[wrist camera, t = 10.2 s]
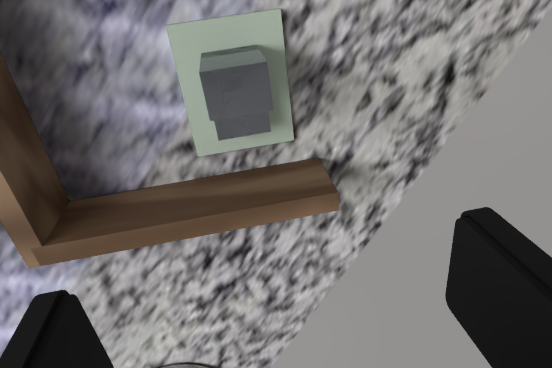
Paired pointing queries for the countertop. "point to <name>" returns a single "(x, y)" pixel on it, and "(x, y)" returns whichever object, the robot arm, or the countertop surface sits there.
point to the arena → (136, 199)
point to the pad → (226, 35)
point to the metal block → (237, 91)
